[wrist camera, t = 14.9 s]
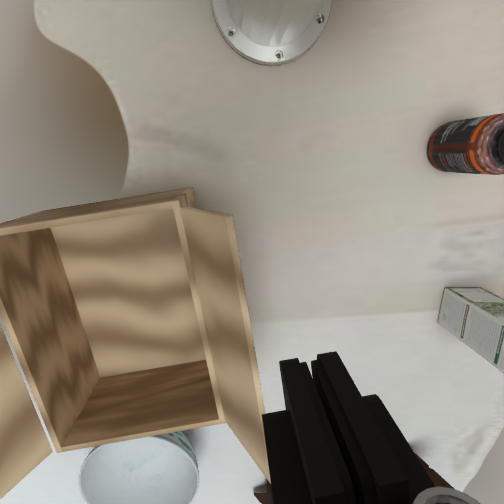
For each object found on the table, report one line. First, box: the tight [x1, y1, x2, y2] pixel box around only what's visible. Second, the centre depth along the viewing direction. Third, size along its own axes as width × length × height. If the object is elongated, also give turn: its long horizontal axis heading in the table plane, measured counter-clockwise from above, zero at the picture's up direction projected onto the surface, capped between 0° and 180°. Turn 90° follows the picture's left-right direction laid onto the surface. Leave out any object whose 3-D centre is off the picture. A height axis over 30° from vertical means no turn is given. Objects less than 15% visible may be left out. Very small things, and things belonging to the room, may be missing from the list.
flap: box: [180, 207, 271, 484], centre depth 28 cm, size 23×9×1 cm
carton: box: [0, 188, 226, 453], centre depth 37 cm, size 24×18×12 cm
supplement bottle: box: [428, 113, 504, 175], centre depth 36 cm, size 6×6×11 cm
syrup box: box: [438, 288, 504, 373], centre depth 40 cm, size 6×6×14 cm
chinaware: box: [79, 431, 199, 504], centre depth 46 cm, size 15×15×8 cm
